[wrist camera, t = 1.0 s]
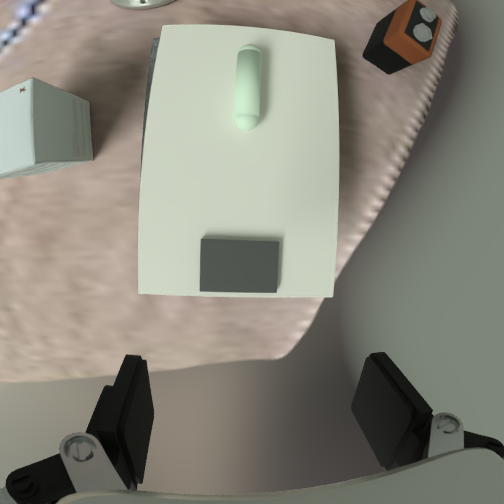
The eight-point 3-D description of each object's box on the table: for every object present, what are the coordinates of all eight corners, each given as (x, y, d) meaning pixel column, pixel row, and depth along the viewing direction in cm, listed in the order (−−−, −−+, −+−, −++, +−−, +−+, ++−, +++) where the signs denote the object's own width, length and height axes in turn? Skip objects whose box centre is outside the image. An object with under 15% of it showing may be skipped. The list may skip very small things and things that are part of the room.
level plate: (165, 38, 24) (160, 13, 19) (326, 51, 26) (341, 29, 21) (144, 287, 26) (132, 299, 22) (323, 291, 28) (341, 302, 24)
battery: (360, 57, 30) (403, 29, 20) (376, 22, 28) (417, -9, 19) (388, 76, 31) (437, 56, 21) (403, 41, 29) (448, 17, 20)
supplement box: (39, 116, 27) (-27, 103, 15) (91, 100, 28) (34, 73, 16) (42, 175, 29) (-25, 184, 17) (94, 163, 30) (35, 164, 18)
